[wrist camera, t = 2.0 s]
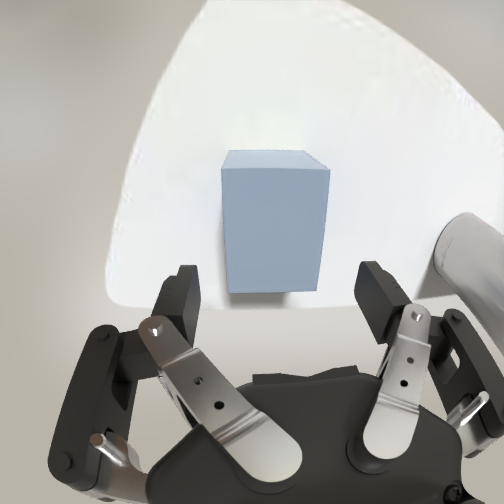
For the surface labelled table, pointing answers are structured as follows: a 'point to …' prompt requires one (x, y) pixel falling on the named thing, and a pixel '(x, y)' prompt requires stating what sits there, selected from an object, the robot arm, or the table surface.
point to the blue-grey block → (273, 220)
